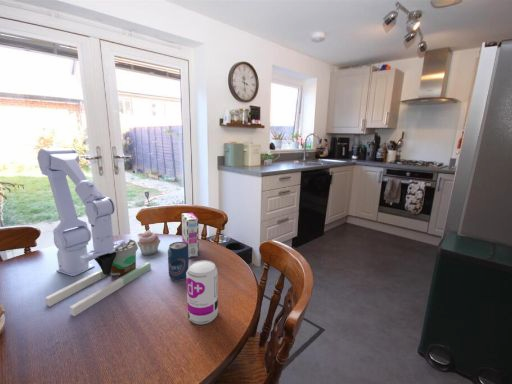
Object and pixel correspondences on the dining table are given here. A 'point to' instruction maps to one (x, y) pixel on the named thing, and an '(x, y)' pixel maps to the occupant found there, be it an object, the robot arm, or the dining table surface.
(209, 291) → the supplement can
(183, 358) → the dining table surface
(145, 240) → the cupcake
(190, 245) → the candy bar box
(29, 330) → the dining table surface
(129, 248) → the food container
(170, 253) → the soda can
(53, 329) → the dining table surface
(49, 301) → the parallel rails
